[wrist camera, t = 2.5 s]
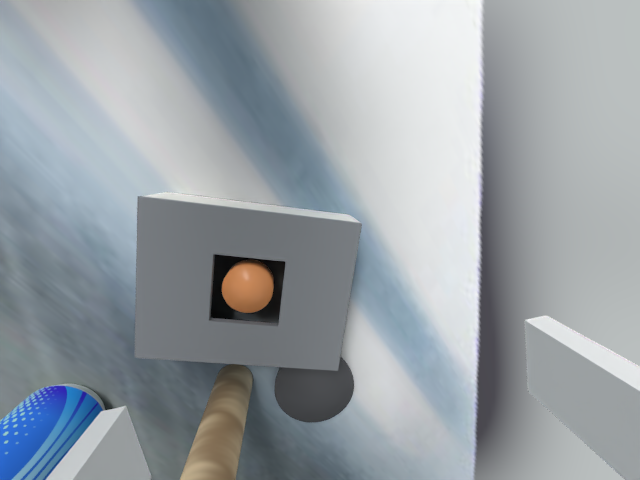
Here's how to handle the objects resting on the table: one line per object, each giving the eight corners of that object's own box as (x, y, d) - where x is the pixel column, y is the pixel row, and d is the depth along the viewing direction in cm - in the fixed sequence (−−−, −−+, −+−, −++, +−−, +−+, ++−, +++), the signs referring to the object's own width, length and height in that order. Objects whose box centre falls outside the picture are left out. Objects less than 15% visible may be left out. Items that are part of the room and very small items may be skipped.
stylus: (215, 394, 35) (156, 569, 20) (217, 362, 35) (158, 518, 19) (251, 396, 36) (221, 568, 20) (254, 365, 35) (226, 519, 20)
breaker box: (161, 325, 33) (134, 357, 27) (167, 191, 30) (137, 196, 25) (330, 337, 35) (337, 370, 29) (349, 214, 33) (361, 223, 27)
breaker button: (224, 302, 30) (219, 310, 28) (227, 256, 29) (223, 262, 27) (271, 306, 30) (270, 314, 28) (276, 261, 29) (275, 267, 27)
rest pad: (271, 416, 37) (270, 420, 36) (279, 346, 35) (279, 349, 34) (346, 419, 38) (347, 423, 37) (358, 352, 36) (359, 355, 35)
